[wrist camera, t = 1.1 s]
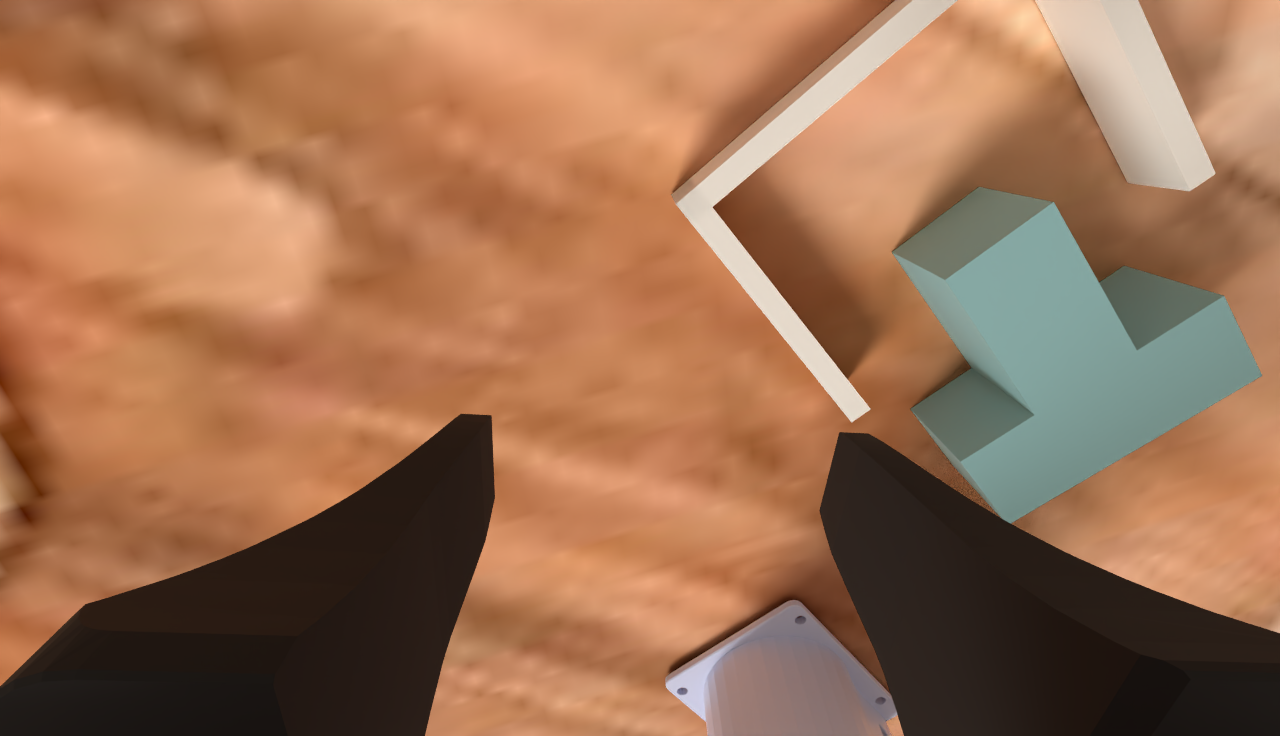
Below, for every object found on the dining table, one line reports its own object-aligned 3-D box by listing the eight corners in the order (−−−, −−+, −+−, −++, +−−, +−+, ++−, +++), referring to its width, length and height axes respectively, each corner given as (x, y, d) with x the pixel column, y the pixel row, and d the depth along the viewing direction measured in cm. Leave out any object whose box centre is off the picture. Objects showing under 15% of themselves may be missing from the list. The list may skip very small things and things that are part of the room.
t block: (1160, 333, 23) (1262, 375, 19) (952, 465, 25) (1007, 525, 21) (1052, 131, 20) (1147, 135, 16) (828, 299, 22) (866, 336, 19)
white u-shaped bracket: (1150, 167, 20) (1215, 173, 18) (830, 392, 24) (851, 422, 21) (1016, -106, 17) (1075, -140, 15) (671, 194, 21) (676, 204, 18)
